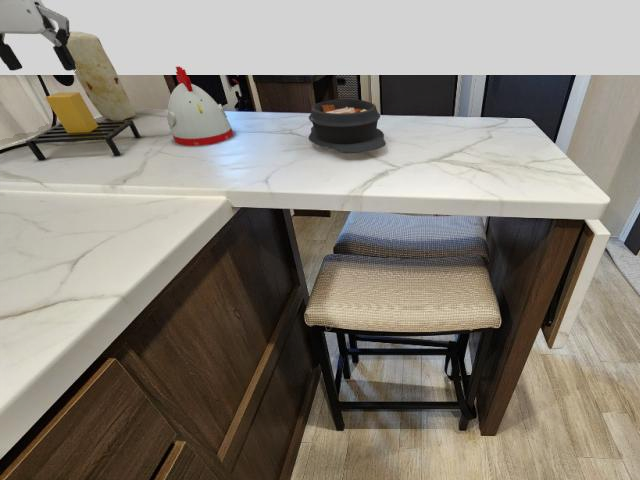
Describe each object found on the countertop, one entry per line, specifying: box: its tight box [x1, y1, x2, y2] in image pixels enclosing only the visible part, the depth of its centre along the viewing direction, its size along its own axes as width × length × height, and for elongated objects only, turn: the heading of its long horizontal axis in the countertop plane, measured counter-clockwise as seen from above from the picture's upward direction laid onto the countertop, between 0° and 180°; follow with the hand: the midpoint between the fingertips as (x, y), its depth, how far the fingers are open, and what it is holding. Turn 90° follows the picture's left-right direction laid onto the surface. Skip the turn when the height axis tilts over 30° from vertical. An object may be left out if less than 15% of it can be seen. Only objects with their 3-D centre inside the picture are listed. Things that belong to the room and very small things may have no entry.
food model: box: [66, 30, 136, 121], centre depth 90 cm, size 10×7×20 cm
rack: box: [25, 119, 142, 162], centre depth 77 cm, size 16×14×4 cm
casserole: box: [308, 98, 387, 154], centre depth 80 cm, size 25×19×8 cm
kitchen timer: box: [164, 65, 234, 147], centre depth 80 cm, size 14×14×15 cm
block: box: [44, 91, 99, 133], centre depth 74 cm, size 4×4×7 cm
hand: (44, 69), depth 68 cm, fingers open, 9 cm apart
